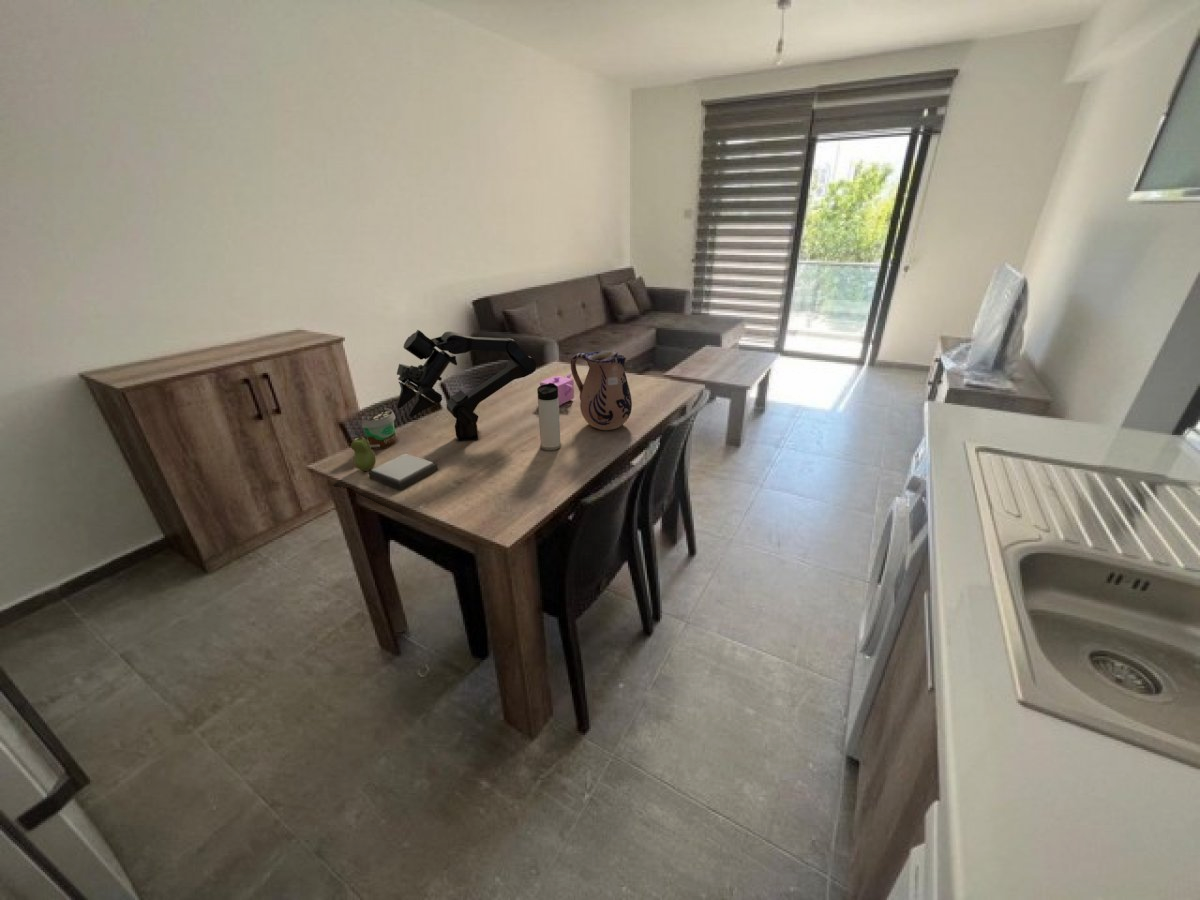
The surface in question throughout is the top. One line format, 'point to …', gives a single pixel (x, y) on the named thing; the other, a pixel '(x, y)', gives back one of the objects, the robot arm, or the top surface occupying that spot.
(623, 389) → the ceramic pitcher
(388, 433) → the food container
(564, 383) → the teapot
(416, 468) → the kitchen scale
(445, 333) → the robot arm
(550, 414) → the travel mug
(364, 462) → the pear
